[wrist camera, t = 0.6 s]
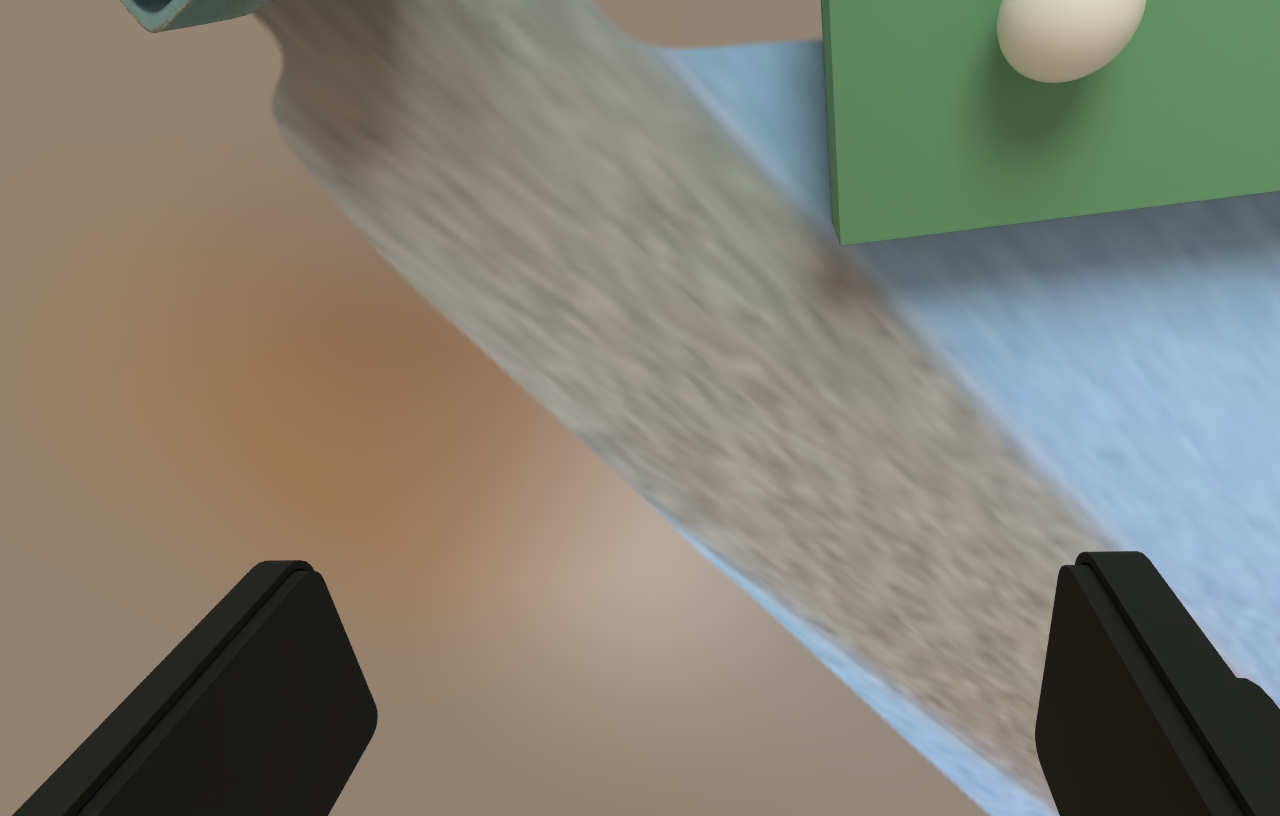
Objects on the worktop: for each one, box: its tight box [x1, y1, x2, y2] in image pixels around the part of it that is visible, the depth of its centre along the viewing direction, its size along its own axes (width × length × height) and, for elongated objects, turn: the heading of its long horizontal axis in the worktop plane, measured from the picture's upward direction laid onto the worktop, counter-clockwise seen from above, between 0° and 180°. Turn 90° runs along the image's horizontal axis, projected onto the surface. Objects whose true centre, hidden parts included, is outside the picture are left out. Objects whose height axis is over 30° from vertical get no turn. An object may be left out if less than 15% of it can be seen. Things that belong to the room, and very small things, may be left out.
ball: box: [997, 0, 1146, 83], centre depth 22 cm, size 4×4×4 cm
